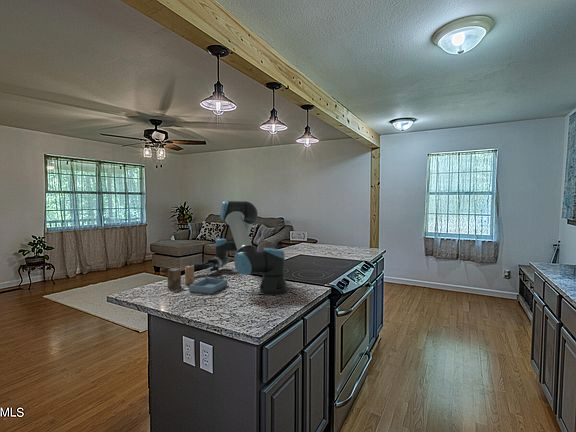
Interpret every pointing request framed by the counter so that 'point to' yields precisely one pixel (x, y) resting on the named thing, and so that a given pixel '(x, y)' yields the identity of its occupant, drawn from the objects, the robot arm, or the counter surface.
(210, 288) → the tray
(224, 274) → the counter surface
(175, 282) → the walnut block
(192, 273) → the canister
